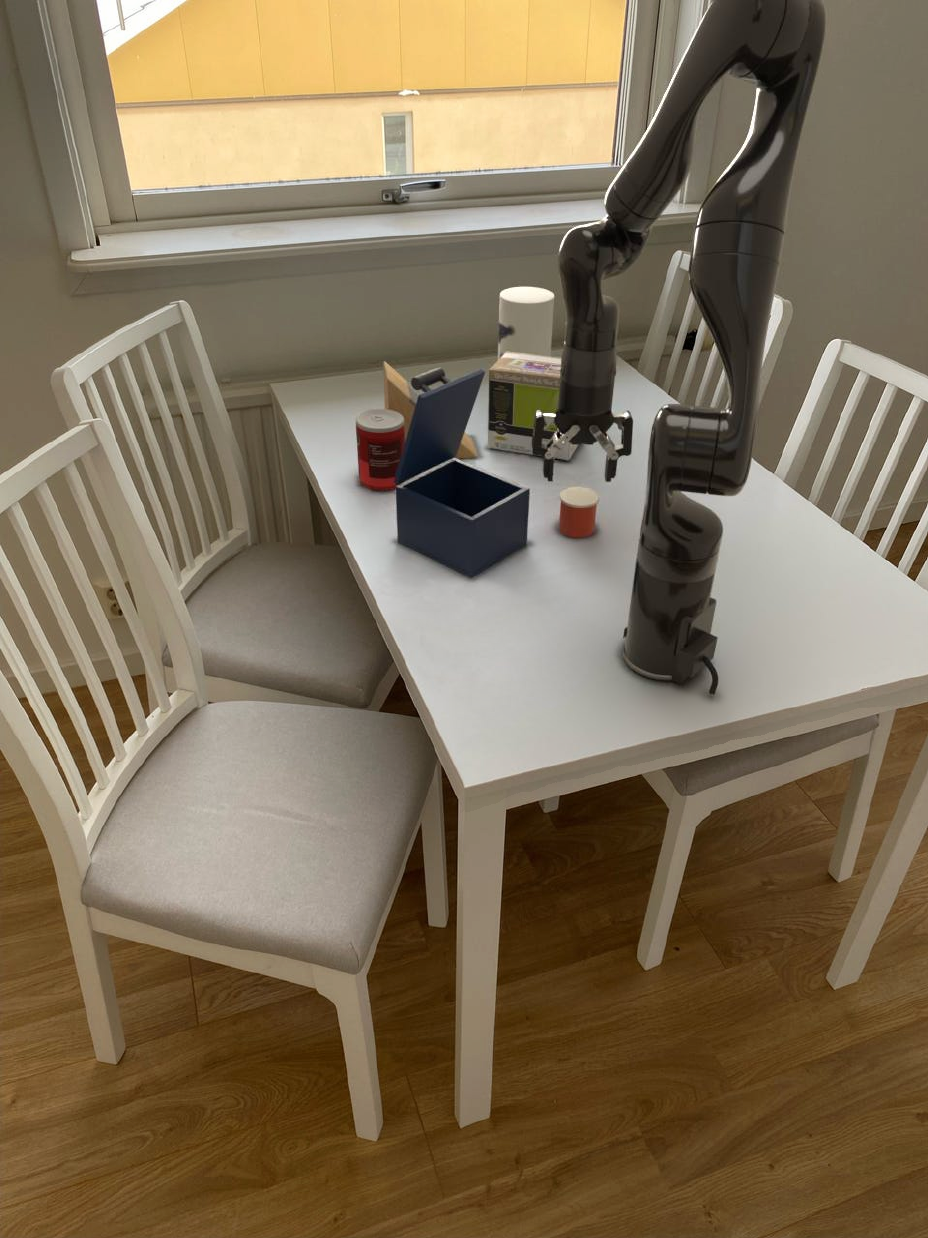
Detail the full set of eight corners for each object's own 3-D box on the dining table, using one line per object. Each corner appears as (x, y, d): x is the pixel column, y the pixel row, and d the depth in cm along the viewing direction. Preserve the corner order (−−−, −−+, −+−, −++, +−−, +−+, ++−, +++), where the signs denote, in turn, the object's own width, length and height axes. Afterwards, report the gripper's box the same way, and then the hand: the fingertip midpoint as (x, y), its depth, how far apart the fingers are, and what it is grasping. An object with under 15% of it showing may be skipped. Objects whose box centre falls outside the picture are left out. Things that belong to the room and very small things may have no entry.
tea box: (583, 439, 173) (590, 359, 164) (568, 462, 165) (575, 380, 157) (503, 426, 177) (506, 348, 168) (485, 449, 169) (487, 367, 161)
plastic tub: (603, 528, 147) (607, 495, 144) (580, 542, 144) (583, 509, 140) (572, 515, 151) (575, 482, 147) (549, 529, 147) (551, 496, 144)
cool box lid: (485, 371, 134) (458, 349, 136) (422, 398, 126) (394, 374, 128) (456, 456, 145) (431, 435, 147) (397, 485, 138) (371, 462, 139)
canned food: (381, 465, 164) (378, 404, 157) (416, 479, 160) (414, 417, 153) (348, 481, 159) (344, 419, 153) (384, 496, 155) (381, 433, 148)
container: (488, 391, 190) (490, 289, 179) (532, 384, 194) (538, 282, 182) (511, 410, 183) (515, 304, 171) (557, 402, 186) (564, 298, 175)
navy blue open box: (527, 544, 143) (530, 488, 138) (471, 578, 136) (471, 520, 130) (454, 511, 151) (454, 457, 146) (397, 542, 143) (395, 486, 138)
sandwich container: (478, 457, 166) (480, 374, 158) (390, 463, 165) (387, 378, 156) (471, 436, 173) (472, 355, 165) (386, 441, 171) (382, 359, 163)
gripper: (635, 364, 136) (623, 468, 145) (534, 363, 136) (528, 467, 145) (643, 385, 130) (630, 492, 139) (537, 384, 130) (531, 491, 139)
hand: (578, 479), depth 142 cm, fingers open, 8 cm apart
